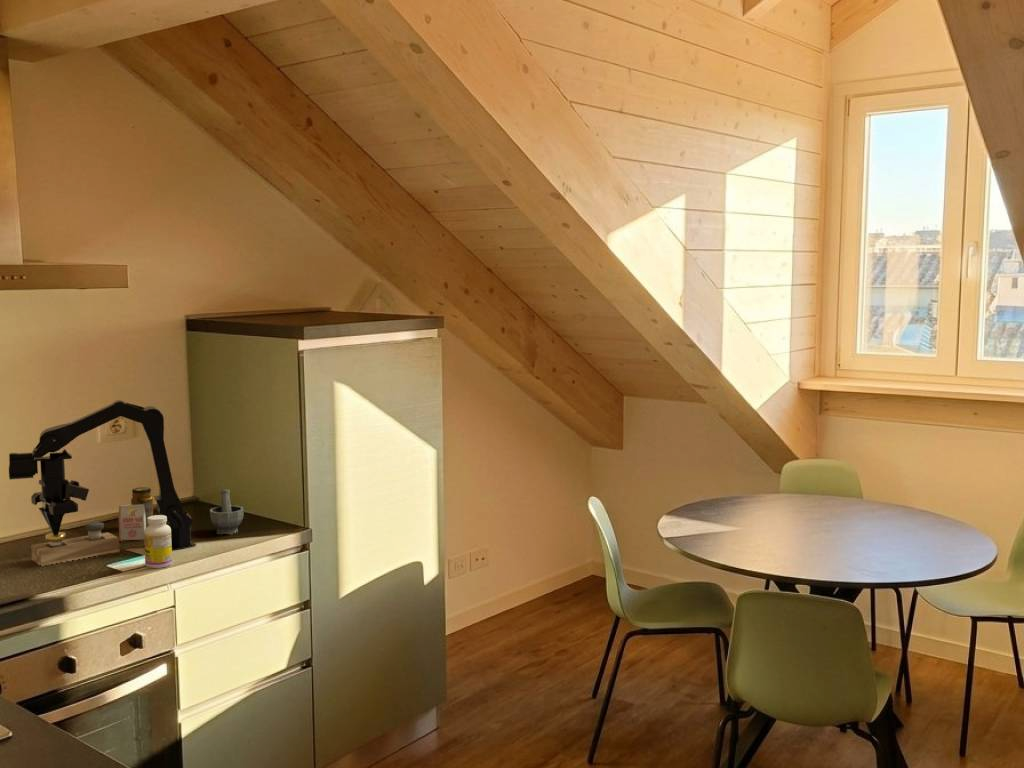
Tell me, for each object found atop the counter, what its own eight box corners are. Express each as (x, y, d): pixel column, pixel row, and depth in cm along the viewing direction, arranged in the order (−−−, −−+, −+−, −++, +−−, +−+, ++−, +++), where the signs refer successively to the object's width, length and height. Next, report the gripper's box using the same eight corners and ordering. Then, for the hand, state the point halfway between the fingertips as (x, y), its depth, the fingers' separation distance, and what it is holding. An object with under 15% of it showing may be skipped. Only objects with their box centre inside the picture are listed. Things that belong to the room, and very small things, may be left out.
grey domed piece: (107, 539, 264) (106, 524, 263) (88, 542, 261) (88, 527, 260) (100, 536, 267) (100, 521, 267) (82, 539, 264) (81, 524, 264)
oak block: (119, 552, 265) (118, 537, 264) (41, 566, 251) (40, 551, 251) (108, 546, 271) (107, 532, 270) (31, 559, 257) (31, 545, 257)
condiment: (150, 524, 296) (149, 485, 295) (160, 529, 289) (159, 490, 288) (126, 527, 291) (124, 488, 290) (135, 533, 285) (134, 493, 284)
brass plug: (68, 550, 257) (68, 534, 257) (49, 553, 254) (49, 537, 254) (62, 546, 261) (62, 531, 260) (43, 549, 258) (43, 534, 257)
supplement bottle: (144, 563, 255) (142, 515, 253) (171, 560, 257) (169, 513, 256) (145, 570, 249) (144, 521, 247) (173, 567, 251) (171, 518, 250)
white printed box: (121, 538, 279) (120, 504, 278) (146, 537, 281) (145, 503, 280) (119, 541, 276) (117, 507, 275) (144, 540, 277) (143, 506, 276)
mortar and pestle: (245, 534, 283) (243, 494, 282) (211, 537, 280) (210, 496, 279) (242, 525, 294) (241, 486, 293) (209, 528, 291) (208, 489, 290)
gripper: (97, 477, 254) (99, 535, 256) (72, 467, 268) (75, 522, 269) (52, 483, 246) (55, 543, 248) (29, 472, 260) (32, 529, 262)
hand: (55, 534), depth 257 cm, fingers closed, pressing on brass plug
